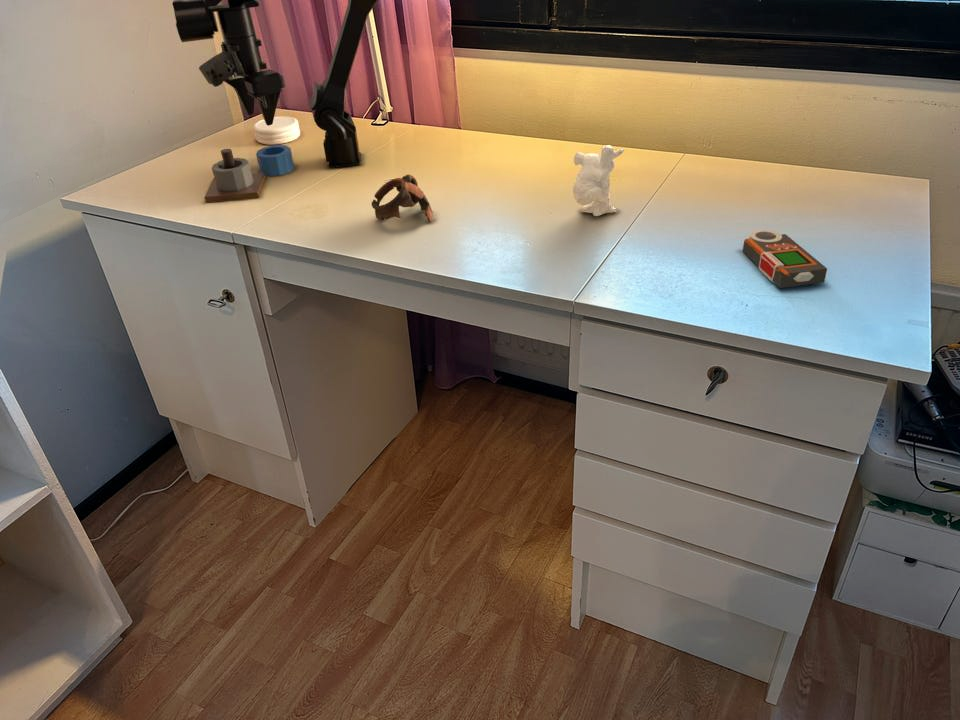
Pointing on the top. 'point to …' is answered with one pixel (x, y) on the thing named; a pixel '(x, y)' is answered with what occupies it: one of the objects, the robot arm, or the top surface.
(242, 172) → the grey thick polygonal ring
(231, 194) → the tape stand
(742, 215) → the top surface
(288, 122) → the coaster
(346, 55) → the robot arm
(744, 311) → the top surface
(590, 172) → the koala figurine
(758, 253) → the electronic device
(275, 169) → the blue ring
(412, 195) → the brown looped band
